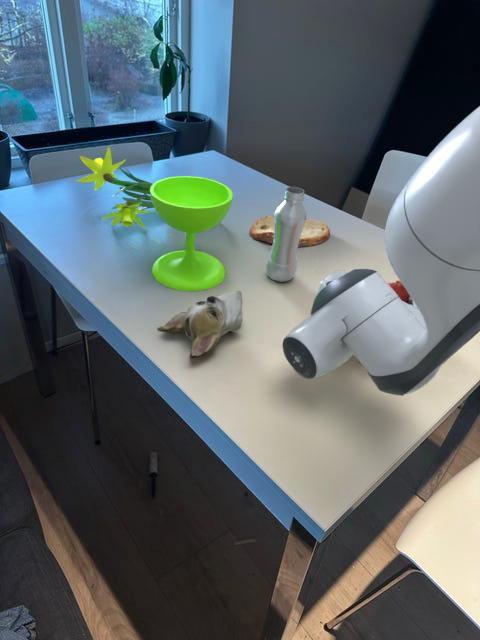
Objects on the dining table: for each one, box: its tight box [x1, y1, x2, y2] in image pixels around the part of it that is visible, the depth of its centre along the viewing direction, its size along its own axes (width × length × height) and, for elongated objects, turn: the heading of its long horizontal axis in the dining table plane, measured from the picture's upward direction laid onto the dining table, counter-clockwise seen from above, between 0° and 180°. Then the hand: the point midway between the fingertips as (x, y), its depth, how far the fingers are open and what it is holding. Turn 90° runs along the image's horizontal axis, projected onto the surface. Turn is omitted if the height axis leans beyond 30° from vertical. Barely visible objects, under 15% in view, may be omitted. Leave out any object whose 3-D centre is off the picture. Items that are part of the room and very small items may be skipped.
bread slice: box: [248, 215, 331, 248], centre depth 115 cm, size 18×18×4 cm
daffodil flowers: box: [75, 145, 157, 230], centre depth 110 cm, size 17×15×35 cm
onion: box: [388, 279, 410, 303], centre depth 83 cm, size 6×6×8 cm
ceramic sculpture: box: [156, 290, 244, 360], centre depth 78 cm, size 11×9×15 cm
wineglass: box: [149, 175, 234, 292], centre depth 92 cm, size 16×16×18 cm
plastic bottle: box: [266, 186, 307, 282], centre depth 93 cm, size 6×7×20 cm
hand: (398, 291), depth 83 cm, fingers closed on onion, 6 cm apart
